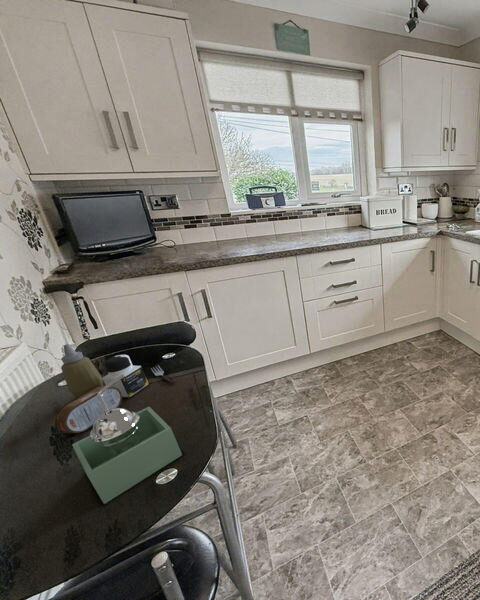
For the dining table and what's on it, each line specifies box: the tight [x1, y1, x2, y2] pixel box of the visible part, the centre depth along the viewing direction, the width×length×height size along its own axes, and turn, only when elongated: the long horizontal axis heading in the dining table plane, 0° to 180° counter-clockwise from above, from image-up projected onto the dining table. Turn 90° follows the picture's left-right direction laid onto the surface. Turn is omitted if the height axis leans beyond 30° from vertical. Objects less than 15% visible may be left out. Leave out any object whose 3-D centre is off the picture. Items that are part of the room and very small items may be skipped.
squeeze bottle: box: [60, 343, 104, 399], centre depth 102 cm, size 8×8×18 cm
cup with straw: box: [89, 375, 141, 458], centre depth 71 cm, size 8×9×20 cm
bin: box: [71, 406, 183, 505], centre depth 74 cm, size 15×15×8 cm
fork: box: [151, 365, 174, 385], centre depth 110 cm, size 3×16×2 cm, turn 53°
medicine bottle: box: [102, 354, 149, 398], centre depth 103 cm, size 7×7×12 cm
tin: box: [56, 384, 123, 434], centre depth 90 cm, size 15×3×8 cm, turn 168°
